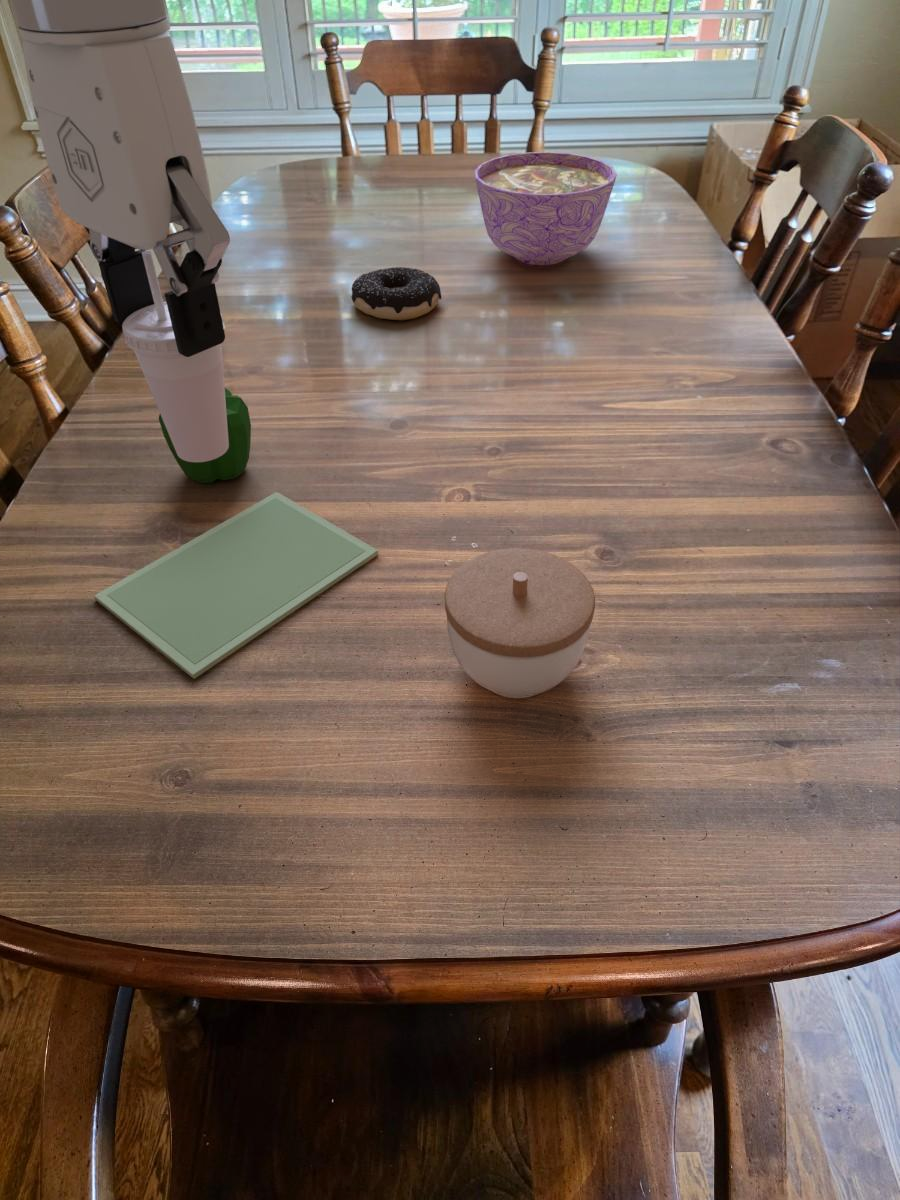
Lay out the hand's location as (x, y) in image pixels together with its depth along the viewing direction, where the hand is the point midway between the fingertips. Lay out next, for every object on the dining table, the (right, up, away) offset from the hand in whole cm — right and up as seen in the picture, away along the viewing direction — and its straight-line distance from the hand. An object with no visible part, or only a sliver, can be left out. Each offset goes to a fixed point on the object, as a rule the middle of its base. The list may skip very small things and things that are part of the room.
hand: (169, 330), depth 56 cm
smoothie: (0, -7, +6) cm, 9 cm away
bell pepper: (-5, -4, +32) cm, 33 cm away
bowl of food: (+32, +34, +74) cm, 87 cm away
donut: (+11, +22, +61) cm, 66 cm away
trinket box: (+23, -23, +11) cm, 34 cm away
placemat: (0, -15, +19) cm, 25 cm away
